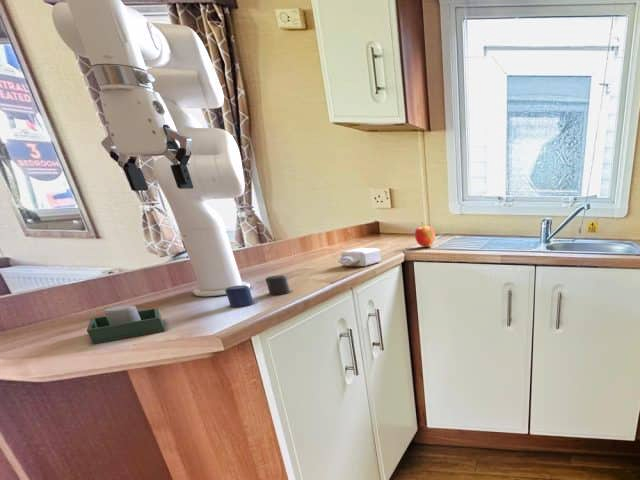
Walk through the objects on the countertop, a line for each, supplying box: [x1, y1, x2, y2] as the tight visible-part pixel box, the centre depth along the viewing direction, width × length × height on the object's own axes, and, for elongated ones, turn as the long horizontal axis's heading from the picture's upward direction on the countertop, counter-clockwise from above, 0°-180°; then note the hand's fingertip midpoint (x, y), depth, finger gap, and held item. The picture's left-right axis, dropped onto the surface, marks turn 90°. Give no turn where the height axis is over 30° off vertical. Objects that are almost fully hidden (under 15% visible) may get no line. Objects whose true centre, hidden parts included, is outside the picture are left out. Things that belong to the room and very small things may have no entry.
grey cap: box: [103, 304, 141, 326], centre depth 79 cm, size 5×5×4 cm
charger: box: [337, 247, 382, 268], centre depth 139 cm, size 5×9×15 cm
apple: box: [414, 223, 436, 248], centre depth 177 cm, size 8×8×10 cm
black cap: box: [265, 274, 291, 296], centre depth 106 cm, size 5×5×4 cm
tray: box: [86, 307, 166, 345], centre depth 80 cm, size 10×10×3 cm
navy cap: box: [225, 285, 254, 308], centre depth 96 cm, size 5×5×4 cm
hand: (163, 189), depth 81 cm, fingers open, 9 cm apart
